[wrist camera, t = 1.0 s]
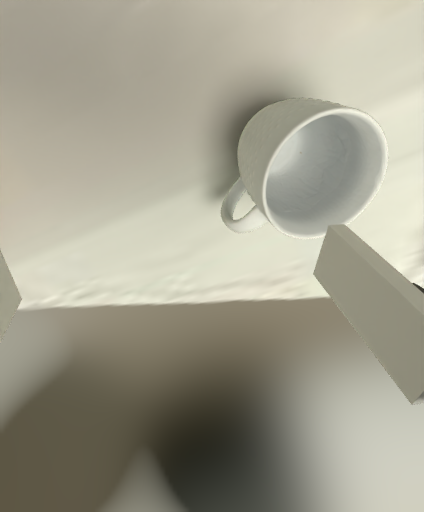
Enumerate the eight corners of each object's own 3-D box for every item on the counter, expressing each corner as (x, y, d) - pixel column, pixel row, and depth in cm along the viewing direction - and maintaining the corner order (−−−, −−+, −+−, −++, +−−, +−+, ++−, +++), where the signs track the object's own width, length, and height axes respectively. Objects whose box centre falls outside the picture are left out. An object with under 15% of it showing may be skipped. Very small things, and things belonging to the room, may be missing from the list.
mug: (241, 224, 40) (277, 285, 29) (181, 171, 34) (198, 224, 24) (330, 139, 35) (410, 175, 25) (278, 63, 30) (352, 67, 19)
